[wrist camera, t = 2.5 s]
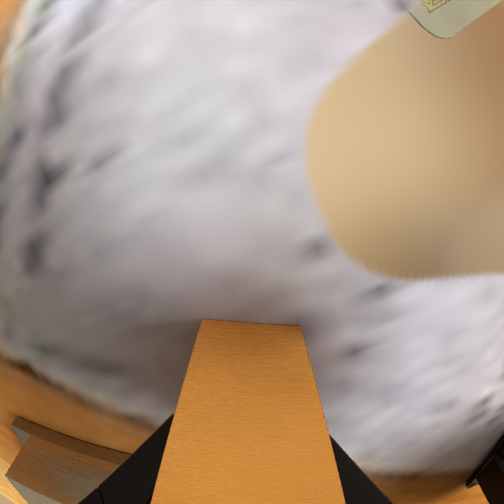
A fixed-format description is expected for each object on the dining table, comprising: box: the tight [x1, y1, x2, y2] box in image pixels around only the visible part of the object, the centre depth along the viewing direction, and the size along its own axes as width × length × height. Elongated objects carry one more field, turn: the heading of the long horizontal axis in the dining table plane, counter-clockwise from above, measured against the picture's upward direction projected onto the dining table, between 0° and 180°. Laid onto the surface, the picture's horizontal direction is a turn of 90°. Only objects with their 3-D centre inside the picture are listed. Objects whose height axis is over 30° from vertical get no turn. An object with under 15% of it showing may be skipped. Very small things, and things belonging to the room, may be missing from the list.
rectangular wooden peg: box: [151, 319, 346, 504], centre depth 6 cm, size 3×4×9 cm
